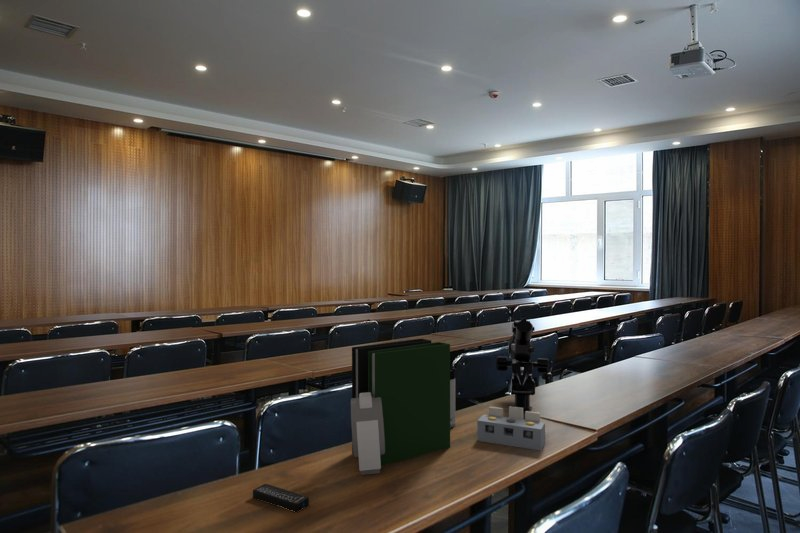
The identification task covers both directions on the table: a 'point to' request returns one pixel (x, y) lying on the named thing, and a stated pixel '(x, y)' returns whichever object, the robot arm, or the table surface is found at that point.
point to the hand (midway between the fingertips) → (521, 384)
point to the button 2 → (515, 413)
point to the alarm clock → (367, 432)
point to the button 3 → (532, 417)
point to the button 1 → (494, 414)
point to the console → (511, 432)
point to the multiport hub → (281, 497)
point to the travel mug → (452, 397)
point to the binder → (407, 394)
